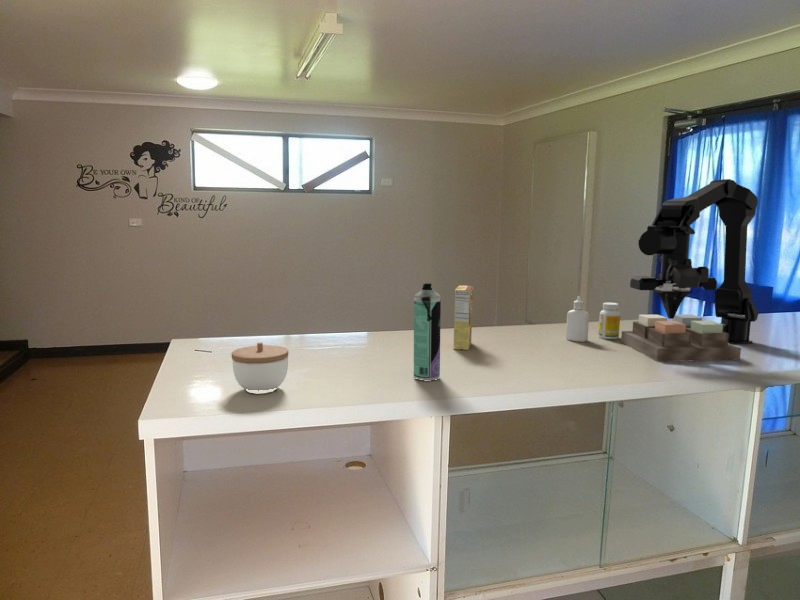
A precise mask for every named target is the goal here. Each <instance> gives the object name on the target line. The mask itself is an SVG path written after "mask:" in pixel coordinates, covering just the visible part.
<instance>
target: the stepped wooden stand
mask: <svg viewBox="0 0 800 600" xmlns="http://www.w3.org/2000/svg"><path fill="white" fill-rule="evenodd" d="M728 336H729V334H728V333H726V332H723V331H722V333H699V332H696V331H694V330H691V326H686V330H685V333H671V334H664V333H661V332H659V331H657V330H655V326H645V325H642V324H640V323H639V320H638V321H637V320H635V321H632V330H628V331H627V330H622V331H621V338H620V342H621V344H624V345H625V344H626V346H627V345H628V347H629V346H630V347H629V348H631V347H632V348H631V349H633V348H634V349H633V350H635V351H637V352H639V353H640V352H641V354H642V353H643V355H644V354H645V355H644V356H646V357H648V358H650V359H652V360H654V361H655V362H683V361H684V362H687V361H688V362H689V361H690V362H691V361H692V362H694V361H696V362H697V361H698V362H699V361H702V362H703V361H705V362H706V361H710V362H711V361H712V362H714V361H717V362H718V361H741V351H742V347H740V346H737V345H735V344H733V343H728Z"/></svg>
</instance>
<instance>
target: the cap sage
mask: <svg viewBox="0 0 800 600" xmlns="http://www.w3.org/2000/svg"><path fill="white" fill-rule="evenodd" d="M720 323H721V322H720ZM720 323H719V322H716V321H713V320H702V321H691V330H694V331H696V332H699V333H722V329H723V324H720Z"/></svg>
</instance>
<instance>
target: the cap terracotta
mask: <svg viewBox="0 0 800 600" xmlns="http://www.w3.org/2000/svg"><path fill="white" fill-rule="evenodd" d="M655 330H657V331H659V332H661V333H664V334H671V333H685V330H686V325H685V324H682V323H680V322H677V321H672V320H667V321H655Z"/></svg>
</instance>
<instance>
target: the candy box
mask: <svg viewBox="0 0 800 600" xmlns="http://www.w3.org/2000/svg"><path fill="white" fill-rule="evenodd" d="M473 301H474V286H472V285H458V286H456V288H455V290H454V315H453V316H454V317H453V318H454V320H453V322H454V323H453V350H460V349H463V350H465V351H468V350H469V349H470V347H471V344H472V331H473V329H472V328H473V307H474V306H473V305H474V303H473Z"/></svg>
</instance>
